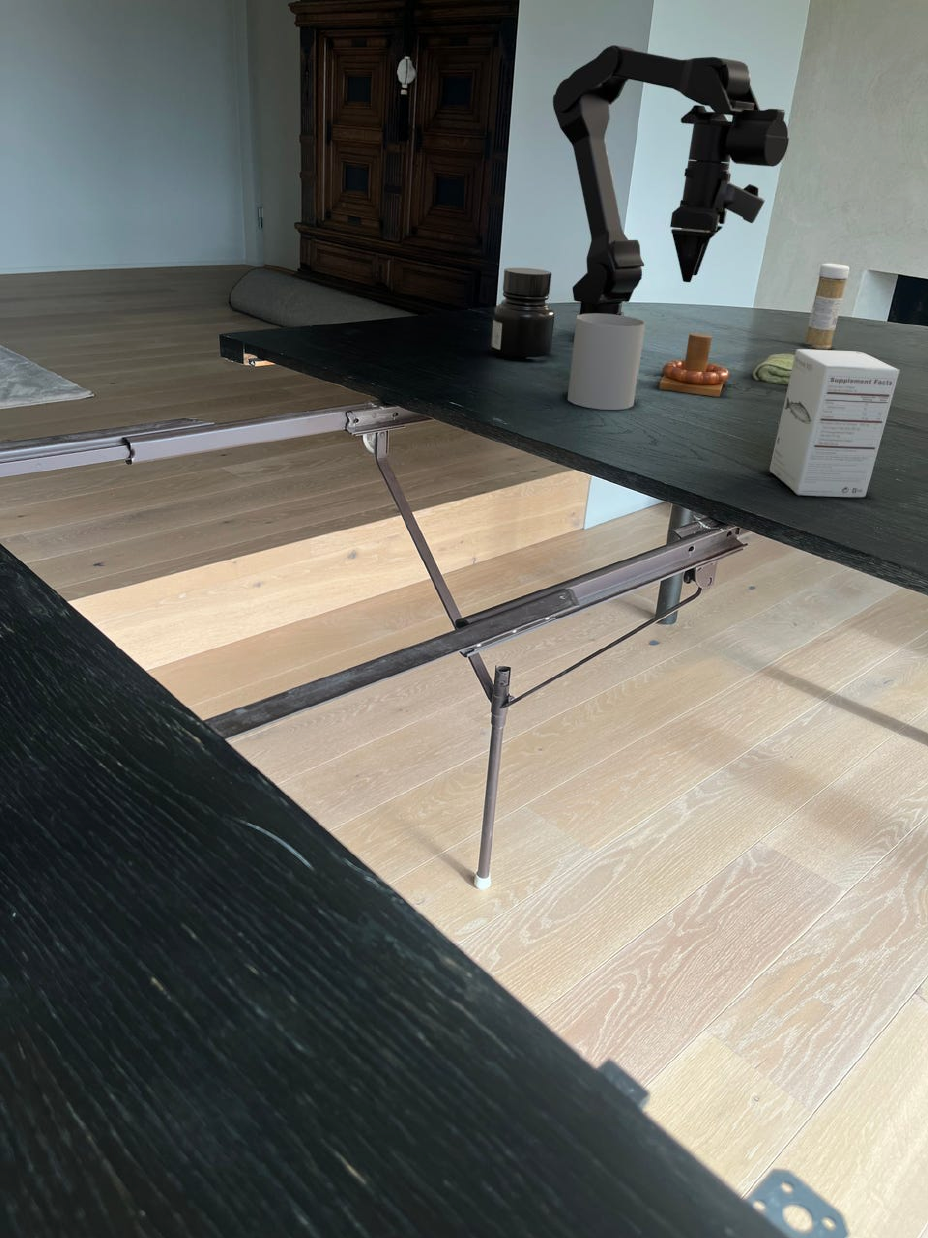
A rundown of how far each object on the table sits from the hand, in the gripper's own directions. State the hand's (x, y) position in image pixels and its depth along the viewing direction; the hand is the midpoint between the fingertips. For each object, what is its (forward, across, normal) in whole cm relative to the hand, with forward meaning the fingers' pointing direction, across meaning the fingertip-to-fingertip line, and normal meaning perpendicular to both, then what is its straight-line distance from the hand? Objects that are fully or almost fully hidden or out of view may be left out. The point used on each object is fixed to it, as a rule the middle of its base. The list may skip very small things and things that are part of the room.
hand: (690, 278), depth 141 cm
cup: (+12, -32, +6) cm, 35 cm away
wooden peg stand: (+12, -17, -4) cm, 21 cm away
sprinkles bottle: (+12, +26, -21) cm, 36 cm away
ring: (+10, -16, -4) cm, 19 cm away
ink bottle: (+12, -11, +22) cm, 27 cm away
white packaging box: (+12, -54, -20) cm, 59 cm away
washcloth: (+12, -6, -21) cm, 25 cm away
